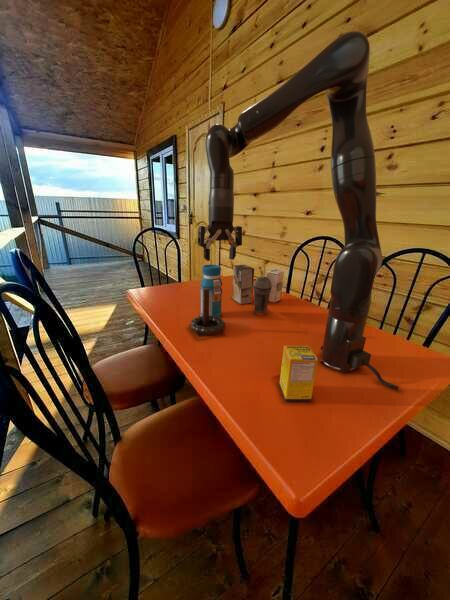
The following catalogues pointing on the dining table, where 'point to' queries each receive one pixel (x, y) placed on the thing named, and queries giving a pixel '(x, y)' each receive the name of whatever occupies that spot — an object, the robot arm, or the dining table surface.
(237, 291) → the coffee box
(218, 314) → the beverage bottle
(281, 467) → the dining table surface
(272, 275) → the syrup box
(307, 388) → the supplement box
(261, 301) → the beverage cup
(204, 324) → the stand
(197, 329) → the ring
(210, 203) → the robot arm
